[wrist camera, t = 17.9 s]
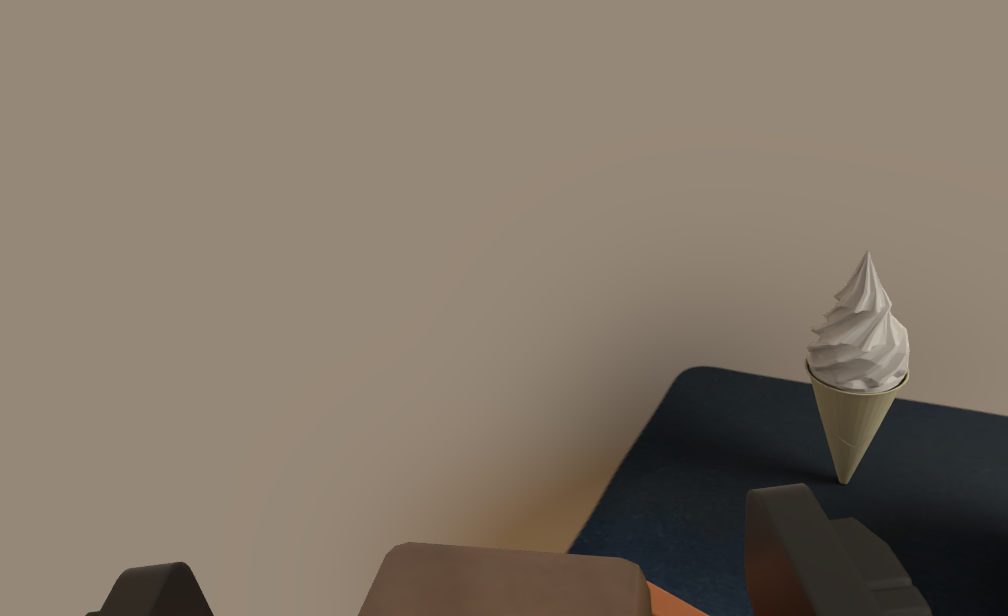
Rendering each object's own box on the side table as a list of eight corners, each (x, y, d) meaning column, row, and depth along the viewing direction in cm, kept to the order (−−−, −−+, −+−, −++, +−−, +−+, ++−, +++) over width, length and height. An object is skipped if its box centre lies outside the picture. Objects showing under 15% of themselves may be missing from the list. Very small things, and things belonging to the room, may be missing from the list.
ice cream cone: (791, 501, 41) (806, 267, 34) (802, 446, 45) (817, 225, 38) (890, 522, 39) (928, 275, 32) (893, 462, 43) (927, 230, 36)
